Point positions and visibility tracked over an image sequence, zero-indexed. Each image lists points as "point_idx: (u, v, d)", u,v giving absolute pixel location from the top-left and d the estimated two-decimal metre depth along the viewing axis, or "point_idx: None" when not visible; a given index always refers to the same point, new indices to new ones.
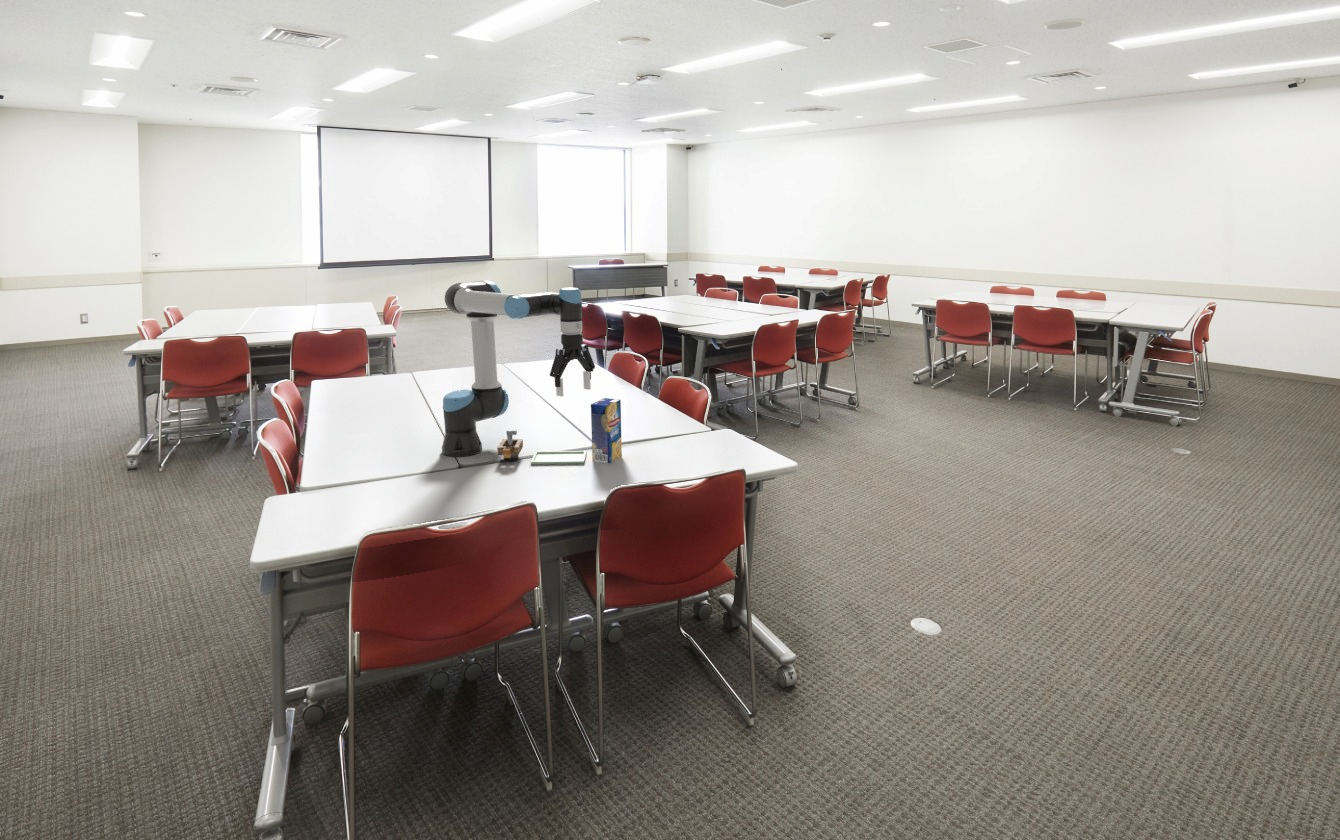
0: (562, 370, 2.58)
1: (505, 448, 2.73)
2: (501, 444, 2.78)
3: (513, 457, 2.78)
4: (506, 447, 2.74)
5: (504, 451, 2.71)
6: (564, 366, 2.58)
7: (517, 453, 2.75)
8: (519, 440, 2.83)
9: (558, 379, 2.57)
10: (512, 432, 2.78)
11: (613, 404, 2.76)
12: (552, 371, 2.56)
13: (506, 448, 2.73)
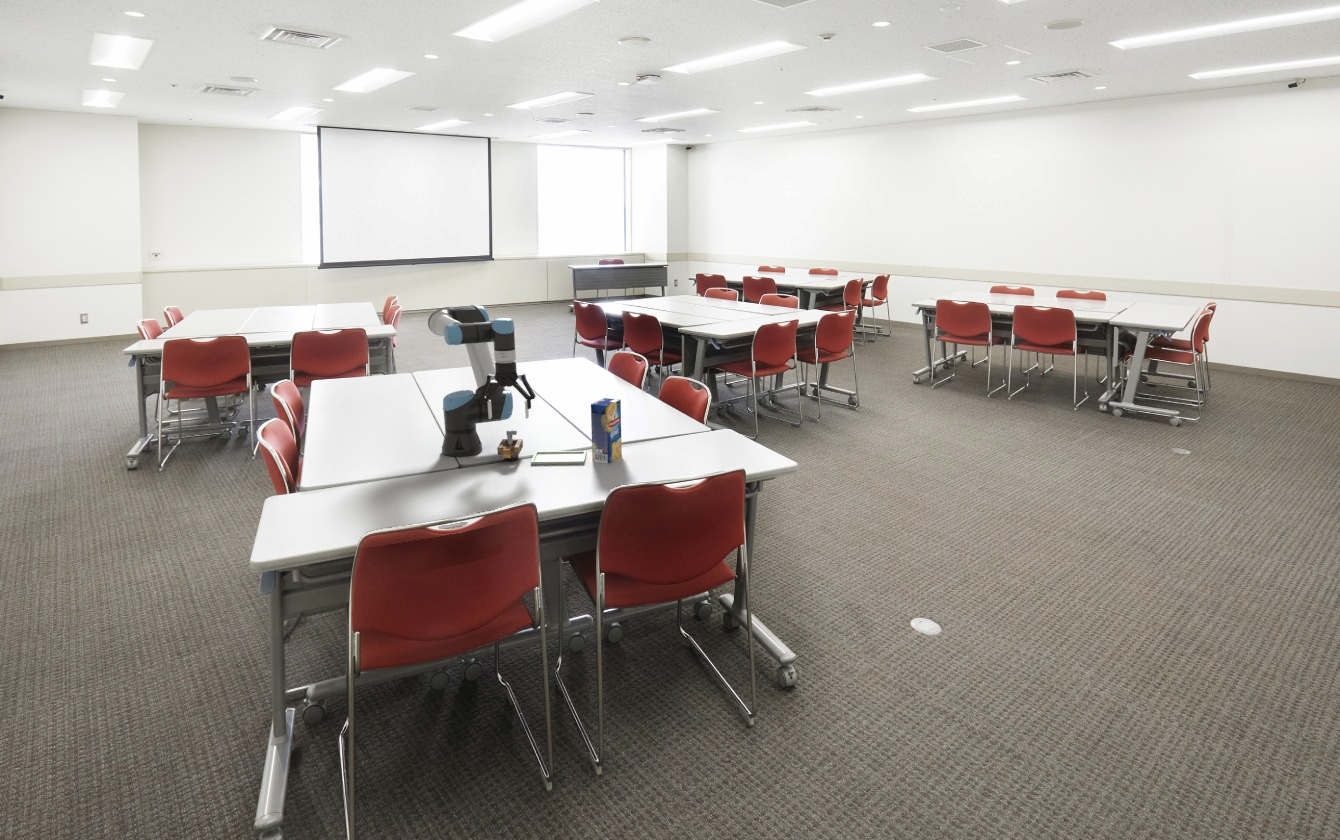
0: (489, 394, 2.73)
1: (505, 448, 2.73)
2: (501, 444, 2.78)
3: (513, 457, 2.78)
4: (506, 447, 2.74)
5: (504, 451, 2.71)
6: (492, 391, 2.73)
7: (517, 453, 2.75)
8: (519, 440, 2.83)
9: (486, 402, 2.74)
10: (512, 432, 2.78)
11: (613, 404, 2.76)
12: None
13: (506, 448, 2.73)
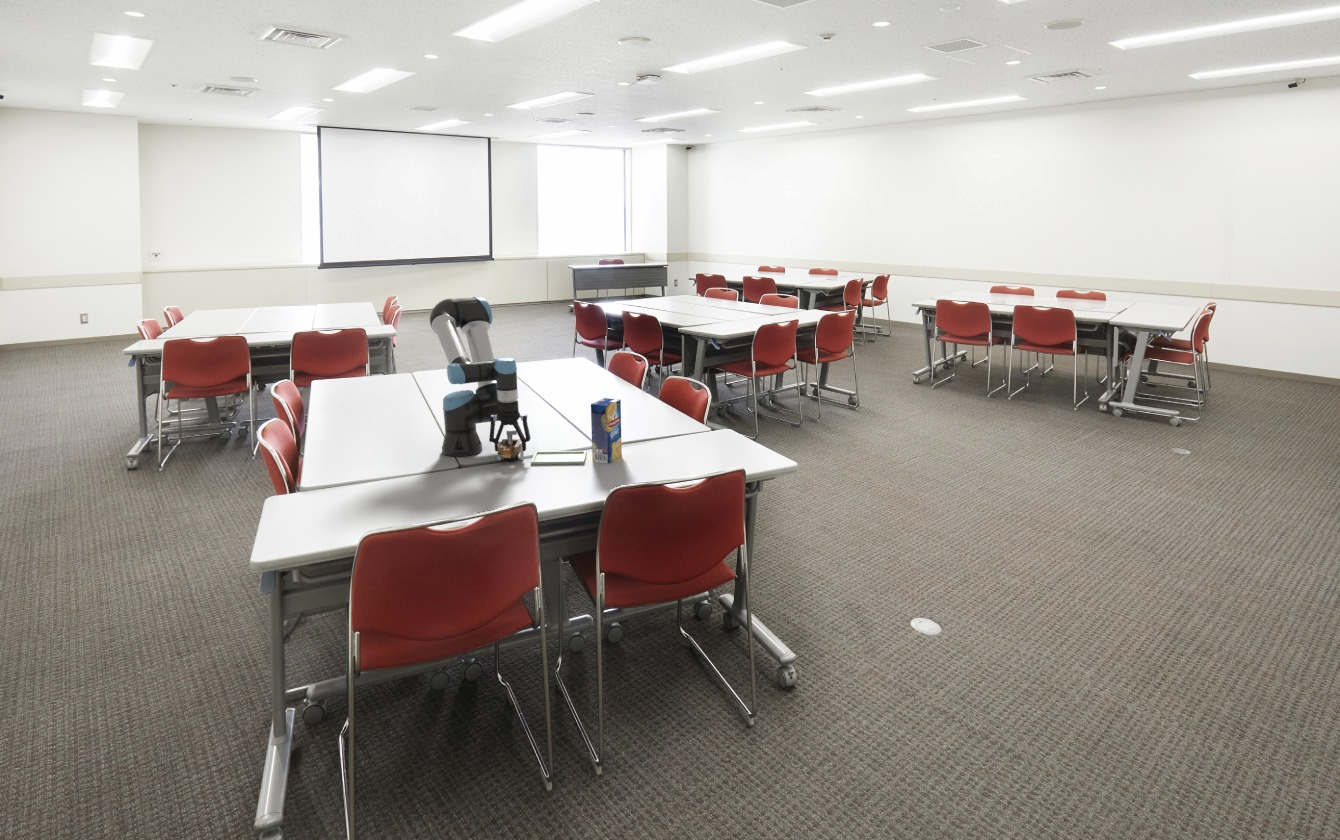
0: (497, 436, 2.77)
1: (505, 448, 2.73)
2: (501, 444, 2.78)
3: (513, 457, 2.78)
4: (506, 447, 2.74)
5: (504, 451, 2.71)
6: (499, 432, 2.77)
7: (517, 453, 2.75)
8: (519, 440, 2.83)
9: (495, 444, 2.79)
10: (512, 432, 2.78)
11: (613, 404, 2.76)
12: None
13: (506, 448, 2.73)
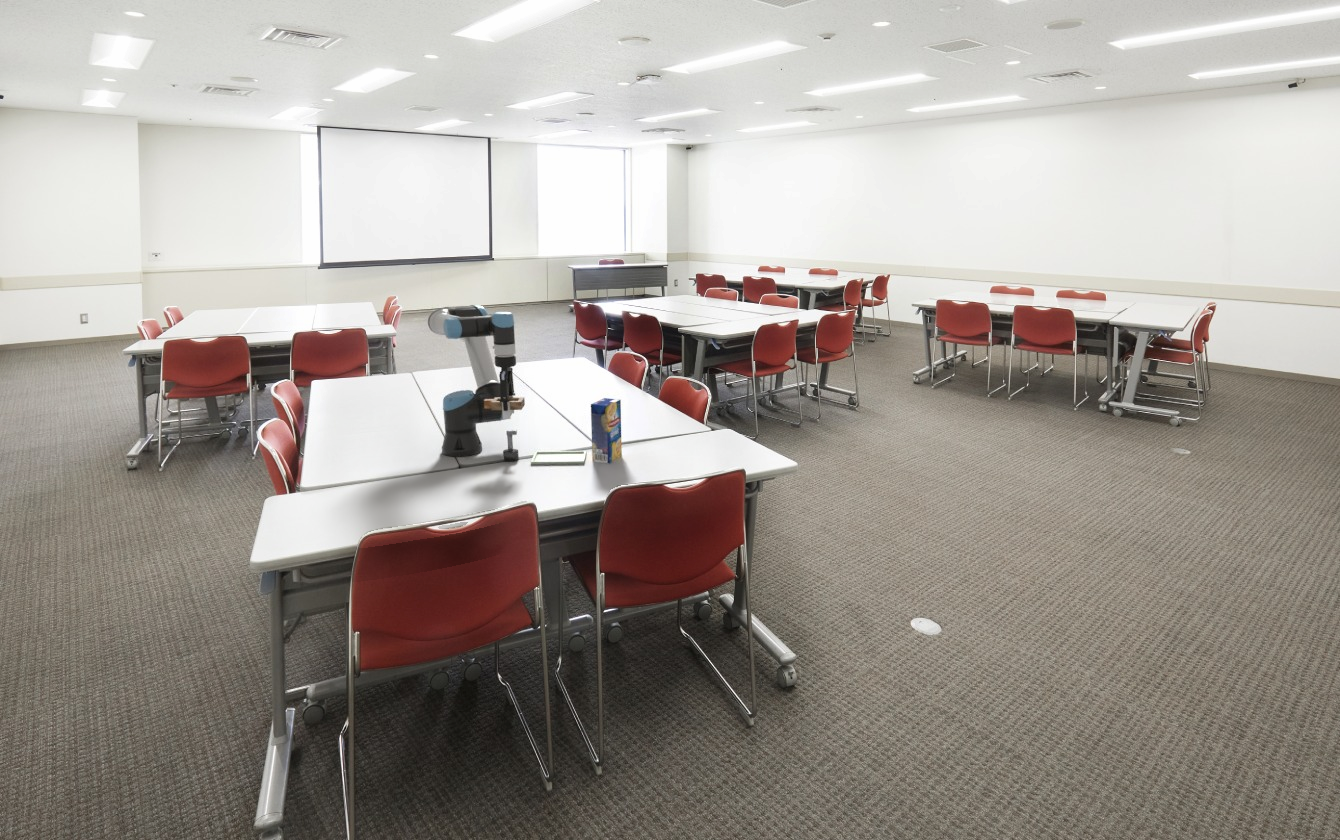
0: None
1: (489, 399, 2.76)
2: None
3: (513, 457, 2.78)
4: (493, 399, 2.75)
5: None
6: None
7: None
8: (516, 401, 2.72)
9: None
10: (512, 432, 2.78)
11: (613, 404, 2.76)
12: None
13: (490, 399, 2.75)
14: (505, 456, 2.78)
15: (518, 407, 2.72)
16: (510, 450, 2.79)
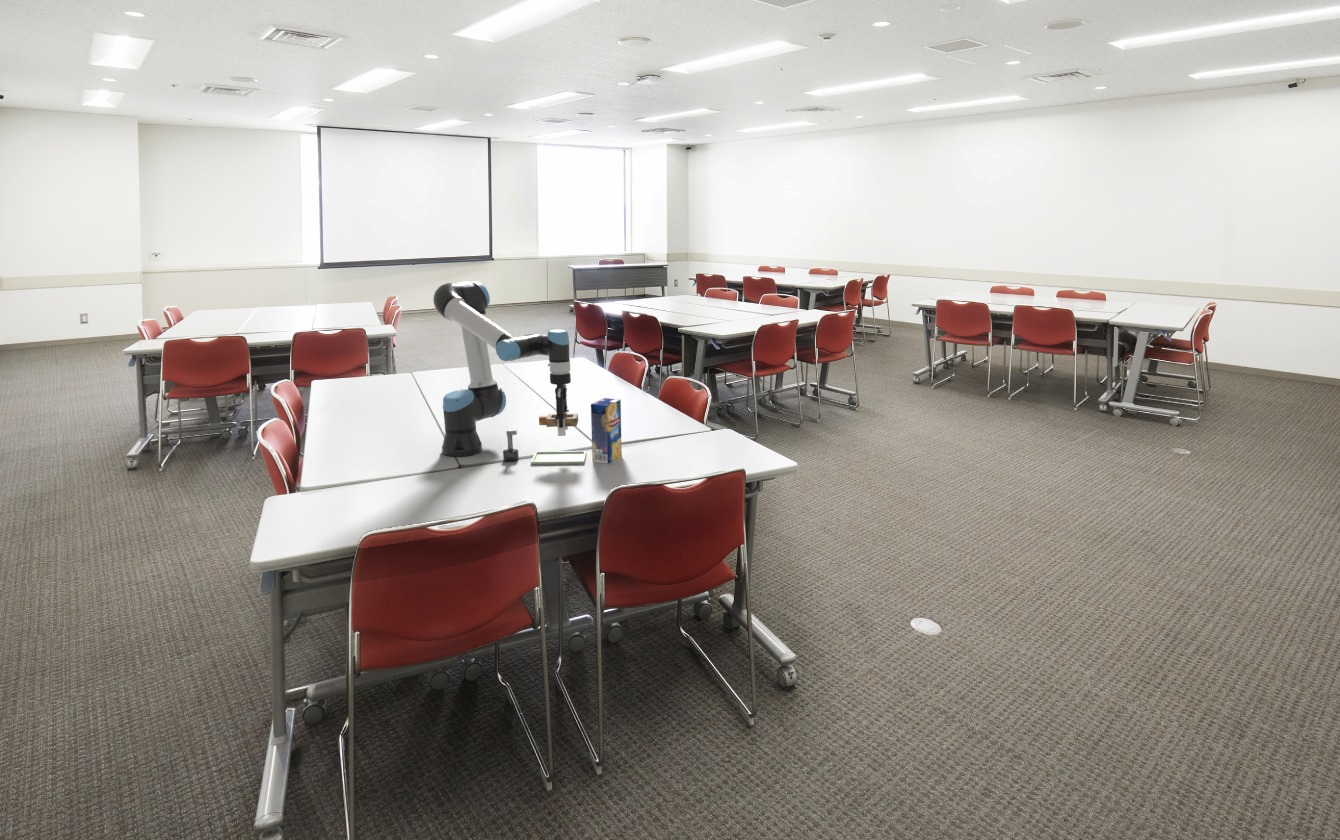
0: None
1: (543, 416, 2.78)
2: None
3: (513, 457, 2.78)
4: (547, 416, 2.77)
5: None
6: None
7: None
8: (570, 417, 2.75)
9: None
10: (512, 432, 2.78)
11: (613, 404, 2.76)
12: None
13: (544, 416, 2.77)
14: (505, 456, 2.78)
15: (573, 424, 2.74)
16: (510, 450, 2.79)
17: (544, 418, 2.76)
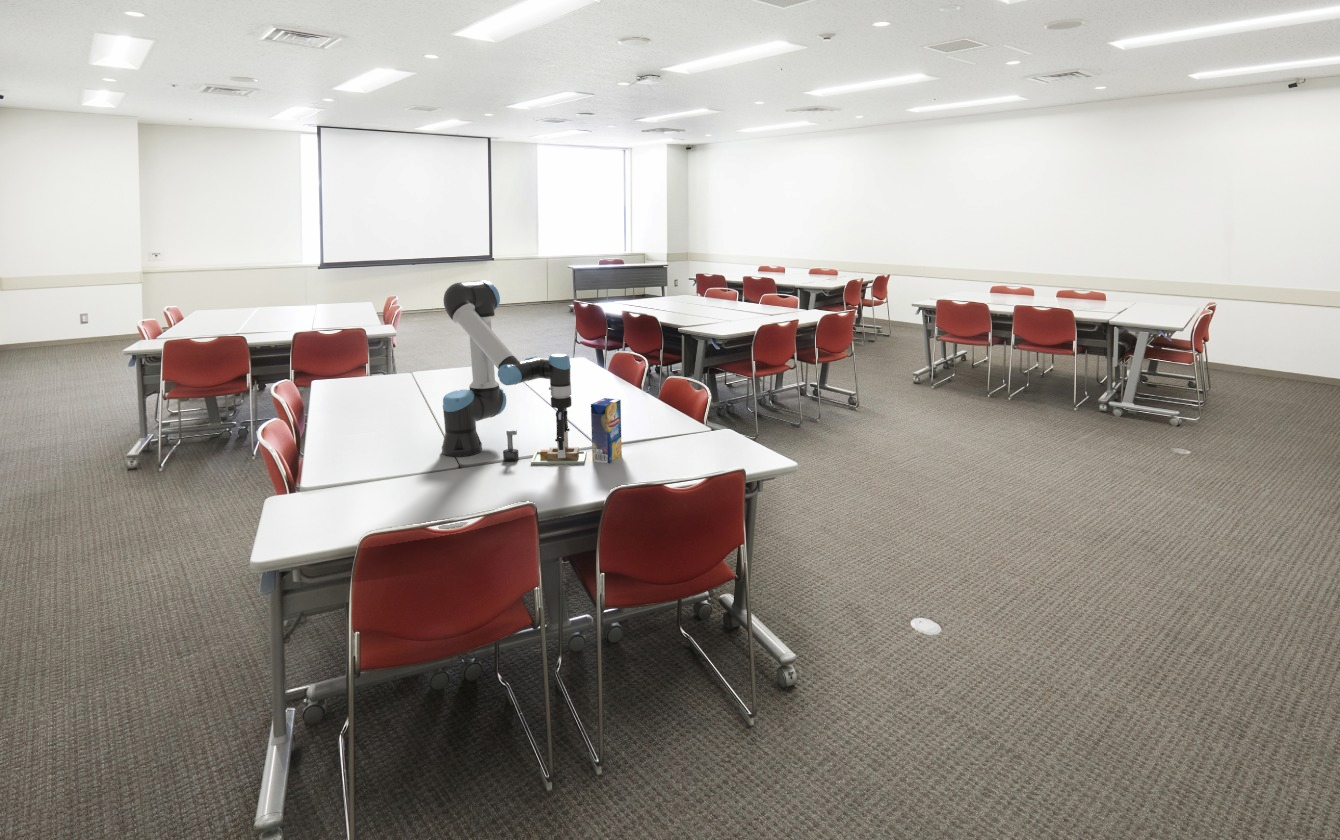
0: None
1: (544, 450, 2.81)
2: None
3: (513, 457, 2.78)
4: (548, 450, 2.81)
5: None
6: None
7: None
8: (571, 452, 2.78)
9: None
10: (512, 432, 2.78)
11: (613, 404, 2.76)
12: None
13: (546, 450, 2.81)
14: (505, 456, 2.78)
15: (574, 458, 2.78)
16: (510, 450, 2.79)
17: (545, 452, 2.80)
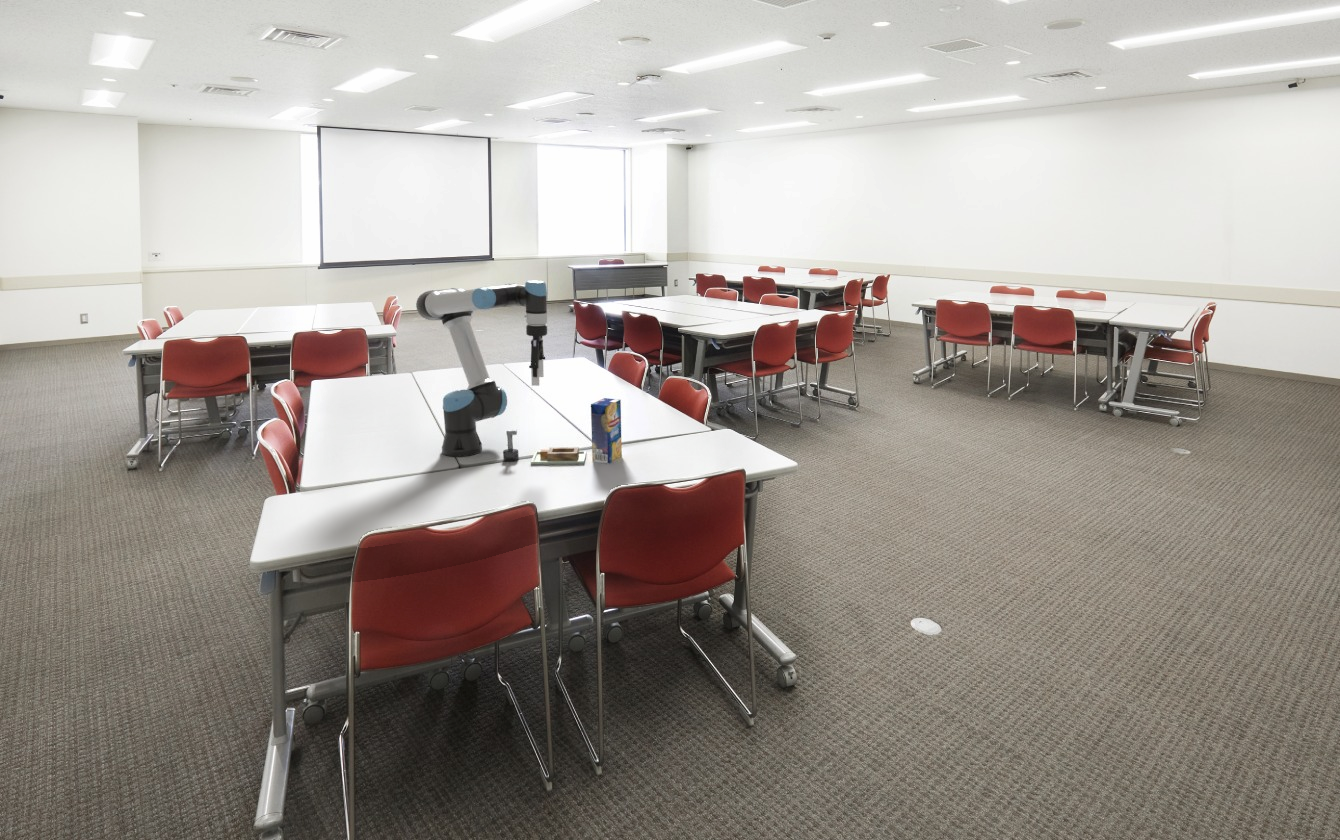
0: None
1: (544, 450, 2.81)
2: (560, 448, 2.84)
3: (513, 457, 2.78)
4: (548, 450, 2.81)
5: None
6: None
7: None
8: (571, 452, 2.78)
9: (538, 360, 2.83)
10: (512, 432, 2.78)
11: (613, 404, 2.76)
12: None
13: (546, 450, 2.81)
14: (505, 456, 2.78)
15: (574, 458, 2.78)
16: (510, 450, 2.79)
17: (545, 452, 2.80)
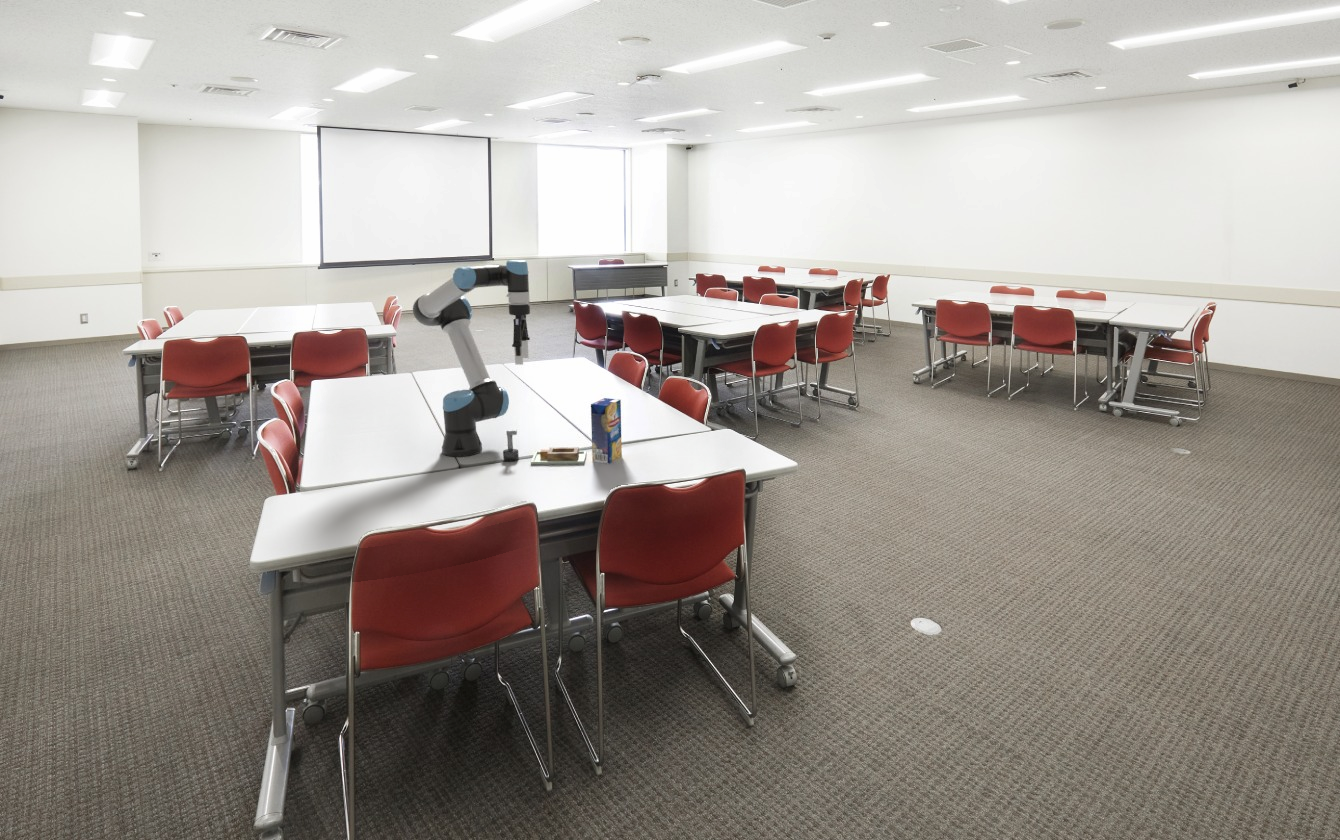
0: None
1: (544, 450, 2.81)
2: (560, 448, 2.84)
3: (513, 457, 2.78)
4: (548, 450, 2.81)
5: None
6: None
7: None
8: (571, 452, 2.78)
9: None
10: (512, 432, 2.78)
11: (613, 404, 2.76)
12: None
13: (546, 450, 2.81)
14: (505, 456, 2.78)
15: (574, 458, 2.78)
16: (510, 450, 2.79)
17: (545, 452, 2.80)
